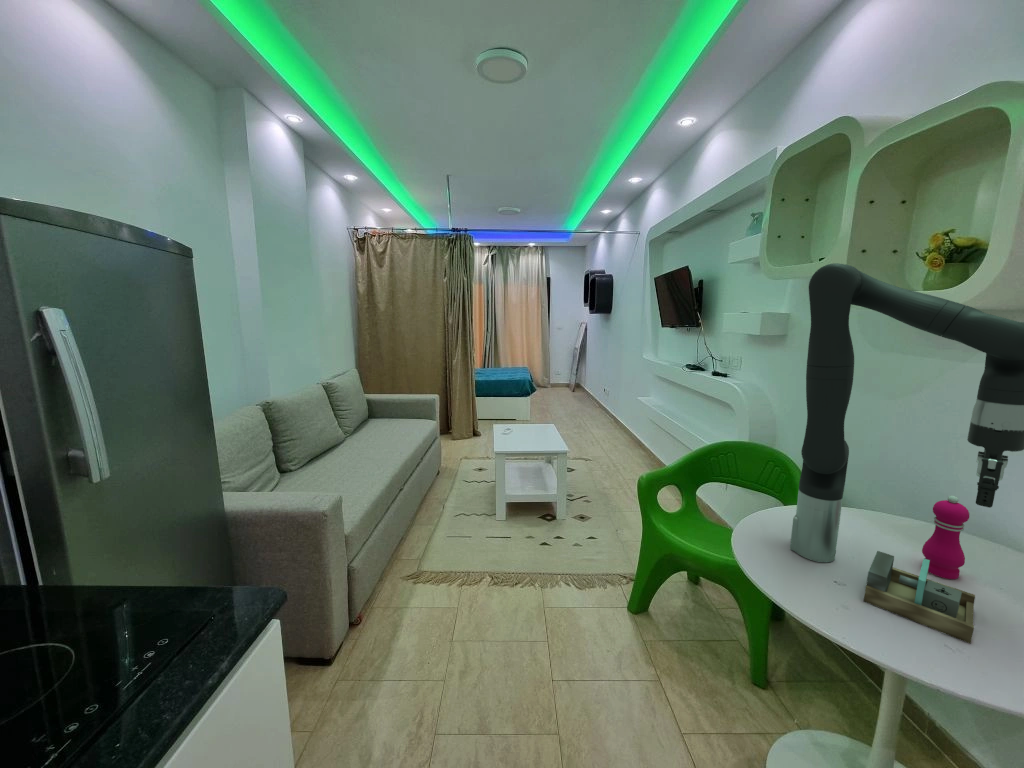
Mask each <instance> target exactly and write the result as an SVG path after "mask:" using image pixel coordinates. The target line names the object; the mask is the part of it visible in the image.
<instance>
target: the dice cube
mask: <svg viewBox="0 0 1024 768" xmlns="http://www.w3.org/2000/svg"><path fill="white" fill-rule="evenodd" d="M931 580H932V579H929V580H928V582H927V584H926V586H925V589H924V593H923V599H922V605H921V606H924V607H927V608H929V609H932V610H935V611H937V612H940V613H943V614H945V615H948V616H951V617H953V618H956V617H957V614H958V609H959V604H960V599H961V594H962V592H961V591H959V590H960V589H959V590H956V589H957V588H956V589H953V588H954V587H953V588H950V587H951V586H950V587H947V586H948V585H947V586H945V585H946V584H944V585H942V584H943V583H941V584H939V583H940V582H938V583H936V582H937V581H935V582H933V581H934V580H932V581H931Z"/></svg>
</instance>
